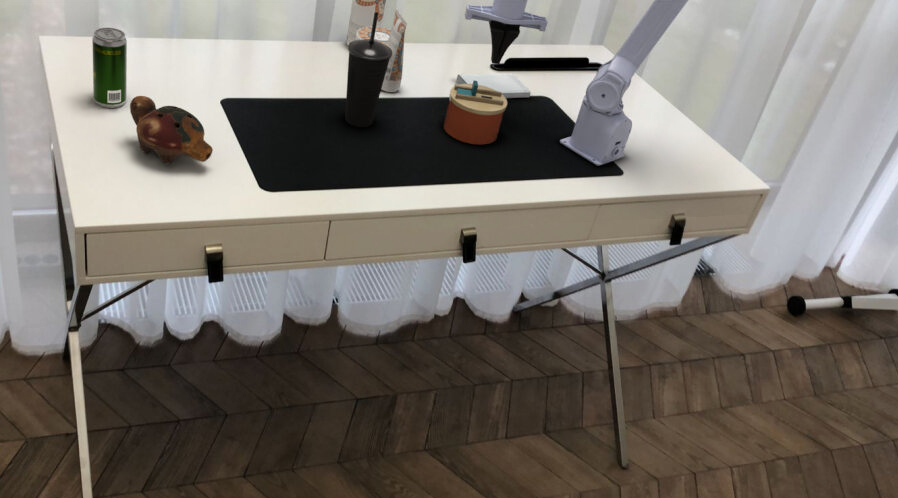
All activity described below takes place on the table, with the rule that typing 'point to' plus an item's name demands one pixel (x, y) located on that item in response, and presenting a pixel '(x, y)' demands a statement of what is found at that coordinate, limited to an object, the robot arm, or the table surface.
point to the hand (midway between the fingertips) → (495, 61)
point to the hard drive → (498, 83)
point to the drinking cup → (365, 78)
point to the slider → (469, 92)
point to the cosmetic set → (380, 36)
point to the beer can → (109, 67)
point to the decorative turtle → (168, 131)
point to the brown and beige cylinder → (475, 114)
